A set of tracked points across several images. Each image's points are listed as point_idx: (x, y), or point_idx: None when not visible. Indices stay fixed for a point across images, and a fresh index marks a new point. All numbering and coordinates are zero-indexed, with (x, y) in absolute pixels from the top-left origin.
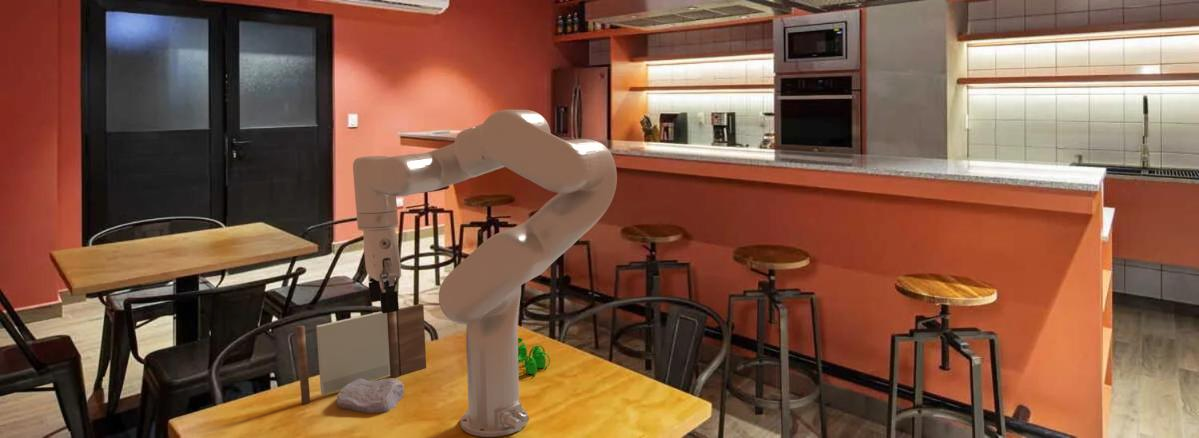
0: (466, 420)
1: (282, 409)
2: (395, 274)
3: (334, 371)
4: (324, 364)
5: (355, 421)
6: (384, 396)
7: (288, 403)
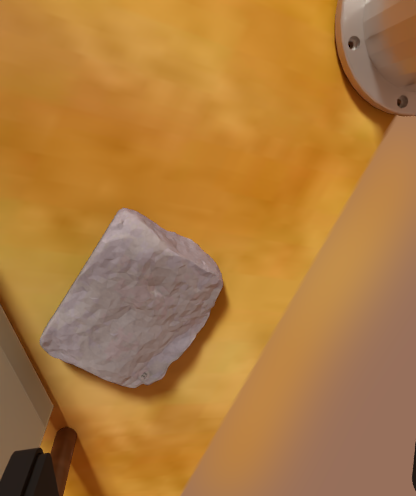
0: (399, 96)
1: (87, 478)
2: None
3: (21, 415)
4: None
5: (233, 335)
6: (210, 279)
7: None
